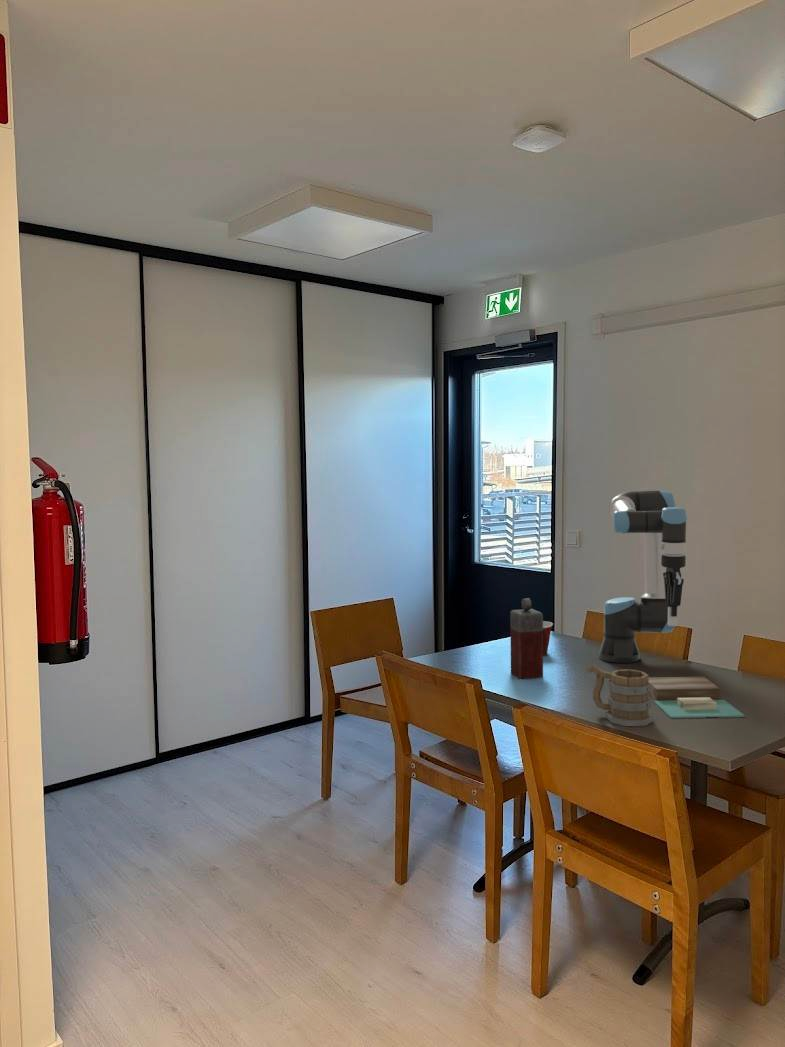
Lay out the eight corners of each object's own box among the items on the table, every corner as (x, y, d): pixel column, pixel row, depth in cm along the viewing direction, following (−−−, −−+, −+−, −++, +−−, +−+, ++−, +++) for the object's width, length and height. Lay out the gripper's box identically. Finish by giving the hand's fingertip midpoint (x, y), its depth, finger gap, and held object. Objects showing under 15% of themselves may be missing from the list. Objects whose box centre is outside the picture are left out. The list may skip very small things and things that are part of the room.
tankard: (658, 718, 244) (659, 669, 243) (639, 729, 235) (640, 678, 234) (597, 706, 257) (597, 659, 256) (577, 716, 248) (577, 667, 247)
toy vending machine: (549, 677, 292) (549, 599, 290) (519, 679, 289) (519, 601, 287) (539, 670, 301) (538, 595, 298) (510, 673, 298) (509, 597, 296)
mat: (654, 702, 260) (654, 700, 260) (723, 701, 260) (723, 699, 260) (670, 718, 244) (670, 716, 244) (744, 717, 244) (744, 715, 244)
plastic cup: (520, 651, 331) (520, 621, 330) (544, 648, 335) (544, 619, 334) (533, 657, 321) (533, 627, 320) (558, 654, 324) (557, 624, 323)
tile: (683, 703, 250) (683, 709, 250) (716, 703, 250) (716, 709, 250) (677, 697, 256) (677, 704, 256) (709, 697, 256) (709, 703, 256)
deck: (643, 689, 275) (643, 677, 274) (703, 688, 274) (703, 676, 274) (656, 701, 261) (656, 689, 260) (719, 700, 260) (719, 688, 260)
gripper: (655, 552, 274) (654, 621, 277) (668, 557, 261) (667, 630, 264) (678, 551, 274) (677, 620, 277) (692, 557, 261) (691, 629, 264)
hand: (672, 625), depth 270 cm, fingers closed
